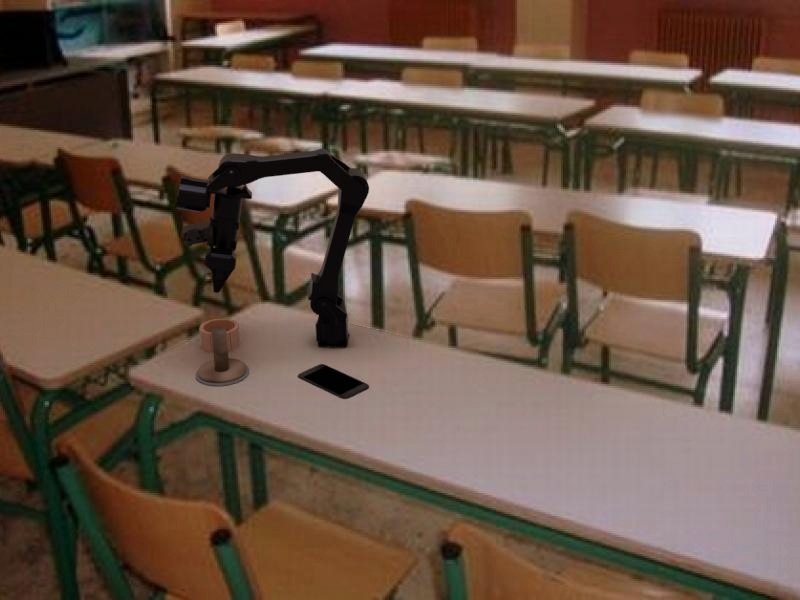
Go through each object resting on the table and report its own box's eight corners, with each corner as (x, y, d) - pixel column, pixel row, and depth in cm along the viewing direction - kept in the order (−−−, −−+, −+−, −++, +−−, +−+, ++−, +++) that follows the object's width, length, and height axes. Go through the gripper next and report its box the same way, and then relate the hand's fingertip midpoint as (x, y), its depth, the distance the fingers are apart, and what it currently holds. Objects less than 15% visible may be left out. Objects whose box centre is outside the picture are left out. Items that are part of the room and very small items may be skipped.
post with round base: (250, 361, 204) (247, 320, 200) (241, 383, 195) (237, 341, 191) (204, 361, 205) (200, 320, 201) (192, 383, 195) (188, 340, 192)
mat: (253, 362, 205) (253, 360, 204) (243, 386, 194) (243, 384, 194) (202, 361, 205) (202, 360, 205) (190, 385, 195) (189, 384, 195)
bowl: (243, 336, 217) (241, 318, 215) (235, 353, 209) (234, 334, 207) (206, 336, 217) (204, 318, 215) (197, 352, 209) (195, 334, 207)
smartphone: (345, 401, 189) (344, 397, 188) (295, 378, 198) (295, 374, 198) (371, 389, 194) (371, 385, 193) (322, 366, 203) (322, 362, 203)
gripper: (189, 196, 206) (182, 264, 212) (183, 223, 189) (175, 296, 195) (242, 204, 208) (232, 270, 214) (240, 231, 191) (230, 302, 197)
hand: (217, 284), depth 205 cm, fingers open, 9 cm apart
